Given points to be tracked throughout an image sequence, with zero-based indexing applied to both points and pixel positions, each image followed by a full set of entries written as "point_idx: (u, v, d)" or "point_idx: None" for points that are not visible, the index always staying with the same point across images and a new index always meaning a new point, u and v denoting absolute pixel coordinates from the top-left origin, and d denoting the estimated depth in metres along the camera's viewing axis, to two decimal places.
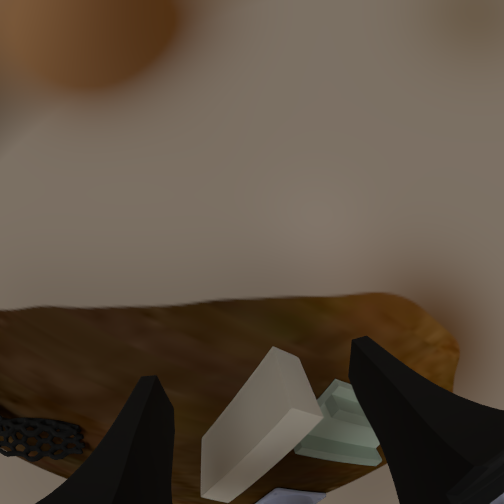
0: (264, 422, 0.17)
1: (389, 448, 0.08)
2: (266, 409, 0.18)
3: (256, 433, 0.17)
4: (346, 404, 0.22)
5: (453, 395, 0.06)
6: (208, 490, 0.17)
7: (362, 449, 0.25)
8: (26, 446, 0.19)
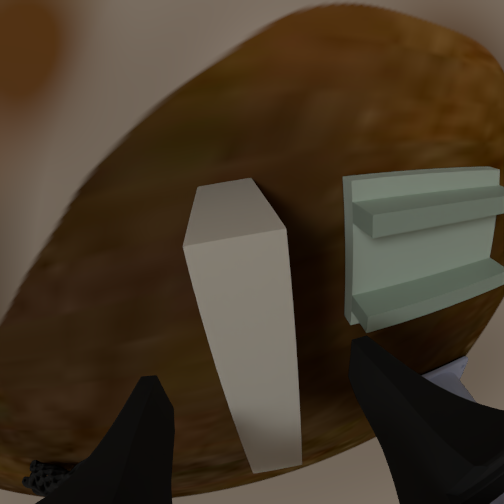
0: None
1: (389, 448, 0.08)
2: None
3: None
4: (386, 203, 0.12)
5: (453, 395, 0.06)
6: (250, 462, 0.11)
7: (472, 268, 0.15)
8: None
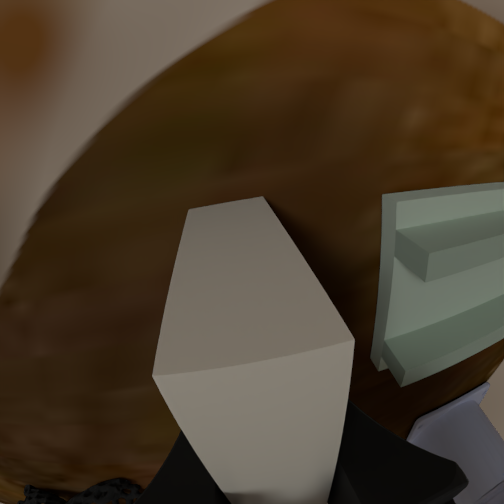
0: None
1: None
2: None
3: None
4: (439, 233, 0.09)
5: (379, 428, 0.06)
6: None
7: None
8: None
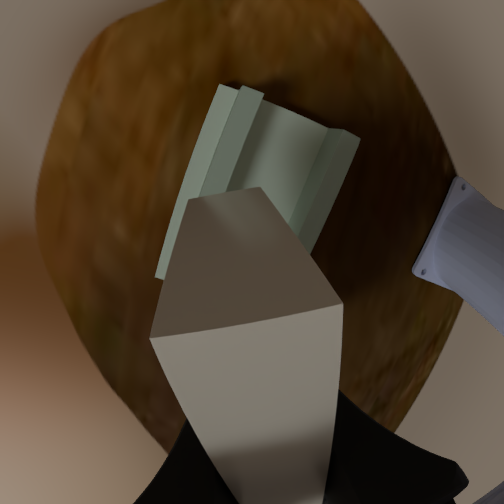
0: None
1: None
2: None
3: None
4: None
5: (379, 428, 0.06)
6: None
7: (313, 173, 0.15)
8: None
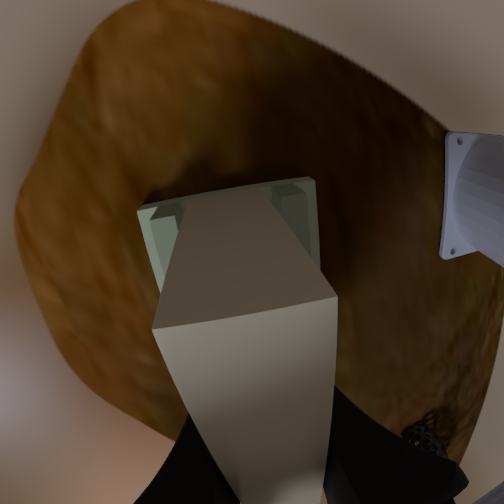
0: None
1: None
2: None
3: None
4: None
5: (379, 428, 0.06)
6: None
7: None
8: (439, 450, 0.26)
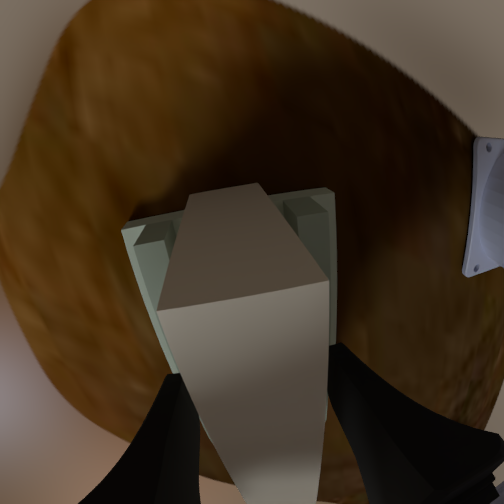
0: None
1: (361, 458, 0.07)
2: None
3: None
4: None
5: (424, 409, 0.06)
6: None
7: None
8: None
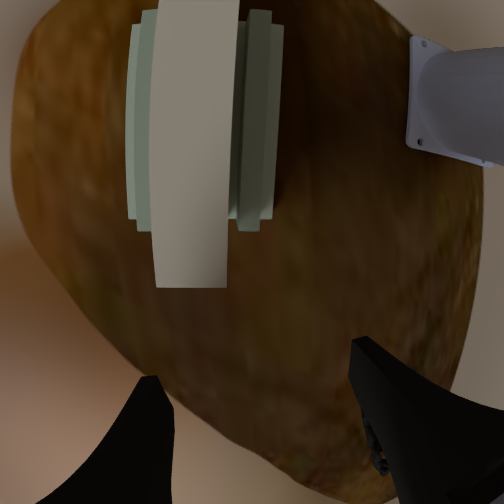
0: None
1: (389, 448, 0.08)
2: None
3: None
4: None
5: (453, 395, 0.06)
6: (154, 252, 0.10)
7: (244, 61, 0.13)
8: None
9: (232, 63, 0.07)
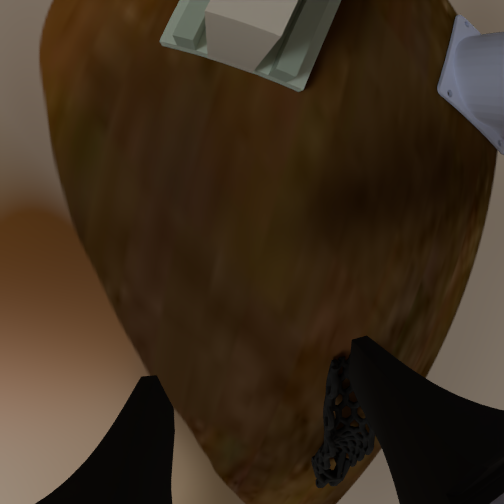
0: None
1: (389, 448, 0.08)
2: None
3: None
4: None
5: (453, 395, 0.06)
6: None
7: None
8: (365, 421, 0.23)
9: None
